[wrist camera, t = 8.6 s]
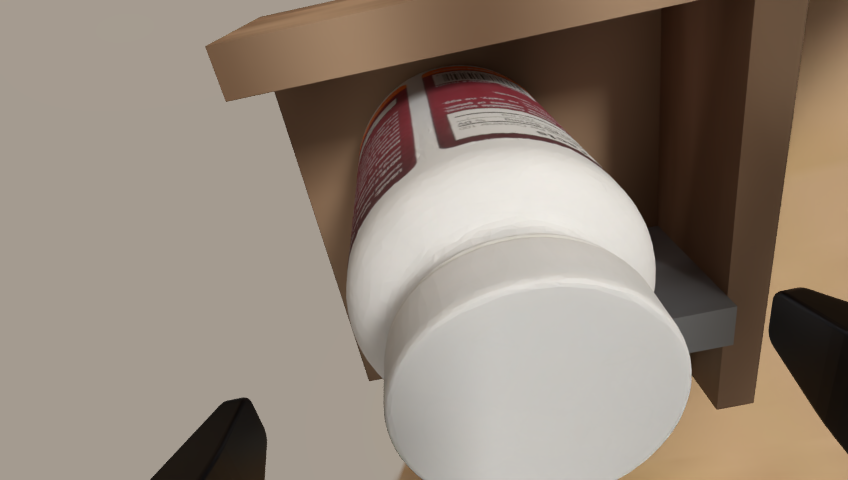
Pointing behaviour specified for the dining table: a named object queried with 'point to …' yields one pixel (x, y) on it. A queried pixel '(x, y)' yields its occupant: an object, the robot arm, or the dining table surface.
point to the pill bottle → (506, 291)
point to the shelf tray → (574, 125)
